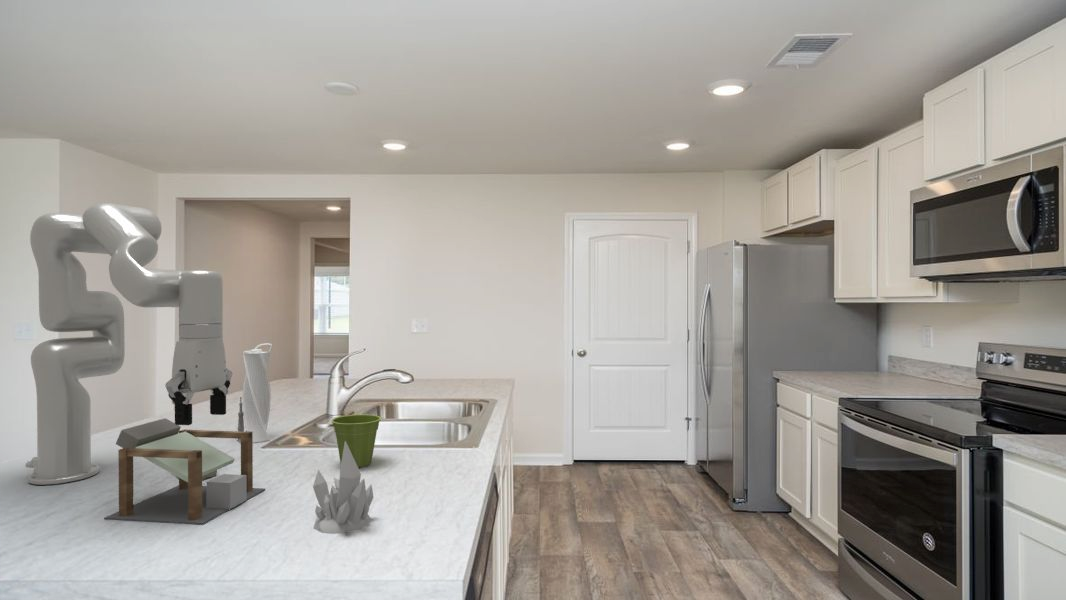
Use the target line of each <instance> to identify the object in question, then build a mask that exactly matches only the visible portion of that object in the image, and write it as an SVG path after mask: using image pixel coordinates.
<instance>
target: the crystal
mask: <svg viewBox="0 0 1066 600" xmlns="http://www.w3.org/2000/svg"><path fill="white" fill-rule="evenodd" d="M361 477H362V473H361V471H360V469H359V468H358V467H357V464H356V462H355V460H354V458H353V456H352V454H351V451H350V449H349V447H348V445H347V443H346V441H345V443H344V449H343V456H342V462H341V463H340V469H339V479H338V478H335V477H333V480H334V481H333V482H334V485H335V486H334V485H333V484H332V485H331V488H330V491H329V488H328V483H327V480H326V479H325V477H324V476H323V475H322V473H321V471H320V469H318V470H317V472H316V476H315V479H314V483H313V485H312V488H313V491H314V494H315V497H316V499H317V502H318V504H319V506H318V505H317V504H316V506H315V510H314V513H315V516H316V519H315V521H314V525H313V530H316V531H318V532H320V533H322V534H329V535H330V534H331V535H336V534H345V533H350V532H353V531H357V530H361V529H363V528H364V527H366V526H368V525H369V524H371V516H370V515H369V510H370V506H371V504H372V502H373V500H374V491H373V487H372V484H370V485H369V486H368V488H367V489H366V480H365V478H363V479H362V480H361Z"/></svg>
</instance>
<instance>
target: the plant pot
mask: <svg viewBox="0 0 1066 600" xmlns="http://www.w3.org/2000/svg"><path fill="white" fill-rule="evenodd" d="M381 420H382V417H381V416H379V415H375V414H364V413H363V414H360V413H359V414H346V415H341V416H337V417H334V418H331V419H330V422H331V424H333V430H334V432H335V436H336V444H337V448H338V456H339V461H340V464H341V462H342V456H343V449H344V443H345V441H346V443H347V445H348V447H349V449H350V451H351V454H352V456H353V458H354V460H355V462H356V464H357V467H358V469H359V468H361V467H368V466H370V465H371V464H372V461H373V456H374V449H375V444H376V438H377V437H376V436H377V433H378V430H379V425H380V421H381Z"/></svg>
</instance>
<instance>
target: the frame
mask: <svg viewBox="0 0 1066 600" xmlns="http://www.w3.org/2000/svg"><path fill="white" fill-rule="evenodd" d="M185 431H186V432H187V433H189V434H191V435H193V436H195V437H196V438H212V439H213V438H214V439H235V440H238V439H241V443H240V475H246V478H247V492H250V491H251V490H253V488H254V487H253V485H254V483H253V482H254V480H253V479H254V476H253V473H254V472H253V468H254V467H253V466H254V464H253V462H254V461H253V457H254V456H253V455H254V454H253V451H254V449H253V448H254V446H253V444H254V443H253V434H252V432H248V431H246V430H244V432H241V431H238V430H237V431H236V430H235V431H234V430H208V429H207V430H205V429H180V430H179V433H182V432H185ZM179 433H178V434H179ZM117 452H118V453H117V455H118V511H119V516H128V515H130V514H133V513H134V508H133V505H134V457H136V458H137V457H139V458H143V457H157V458H183V459H188V482H186V481H184V480H182V479H180V478H179V477H178V485H179V489H188V520H197V519H199V518H201V517H202V486H203V480H202V450H167V449H140V448H121V449H118V451H117Z"/></svg>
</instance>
